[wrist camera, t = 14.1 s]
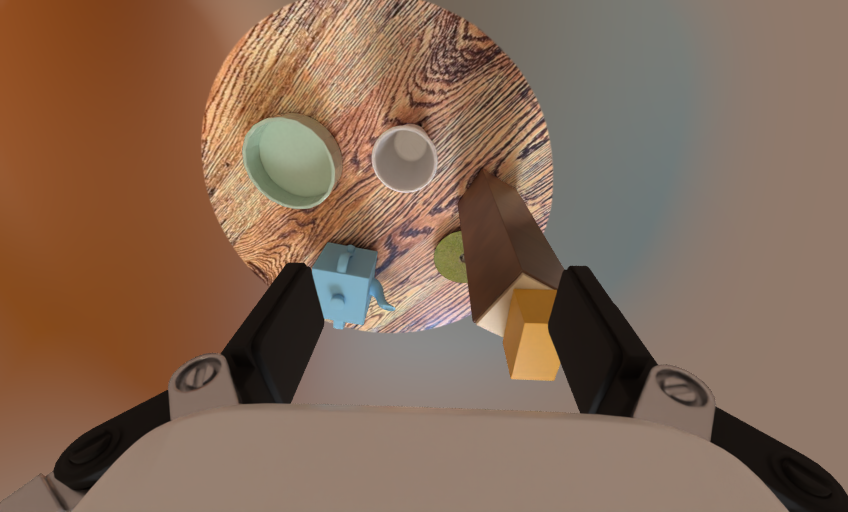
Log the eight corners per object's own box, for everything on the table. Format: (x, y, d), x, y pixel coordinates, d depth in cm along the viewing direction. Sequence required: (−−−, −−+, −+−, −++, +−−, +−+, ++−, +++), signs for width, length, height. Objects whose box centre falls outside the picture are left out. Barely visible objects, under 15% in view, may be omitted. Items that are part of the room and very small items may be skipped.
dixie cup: (415, 100, 44) (409, 110, 36) (448, 149, 47) (450, 168, 39) (372, 137, 47) (357, 154, 39) (406, 180, 50) (400, 204, 42)
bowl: (270, 93, 44) (254, 97, 41) (355, 143, 48) (348, 150, 44) (249, 172, 51) (233, 182, 47) (325, 211, 54) (317, 223, 50)
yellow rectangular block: (513, 288, 26) (524, 322, 22) (557, 289, 26) (575, 324, 22) (502, 342, 29) (510, 379, 26) (541, 343, 29) (554, 381, 26)
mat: (423, 260, 59) (422, 266, 57) (455, 214, 53) (456, 219, 52) (471, 285, 61) (472, 291, 60) (507, 244, 56) (509, 249, 54)
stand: (482, 167, 49) (523, 272, 25) (517, 189, 50) (587, 307, 26) (457, 203, 52) (472, 325, 28) (491, 222, 54) (532, 353, 30)
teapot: (308, 223, 55) (282, 257, 46) (407, 242, 57) (401, 279, 47) (309, 290, 64) (286, 331, 54) (395, 305, 65) (387, 348, 56)
